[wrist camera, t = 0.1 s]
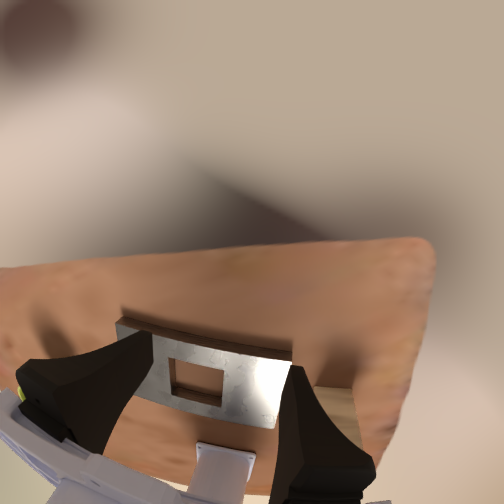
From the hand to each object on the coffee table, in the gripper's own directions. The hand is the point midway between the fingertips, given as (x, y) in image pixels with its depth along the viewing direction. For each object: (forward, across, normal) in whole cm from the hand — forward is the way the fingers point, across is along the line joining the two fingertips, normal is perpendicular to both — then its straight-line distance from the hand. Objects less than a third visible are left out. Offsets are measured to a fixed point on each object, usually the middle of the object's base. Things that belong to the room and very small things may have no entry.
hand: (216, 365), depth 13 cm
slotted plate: (+10, +3, +11) cm, 15 cm away
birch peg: (+10, -10, +11) cm, 18 cm away
